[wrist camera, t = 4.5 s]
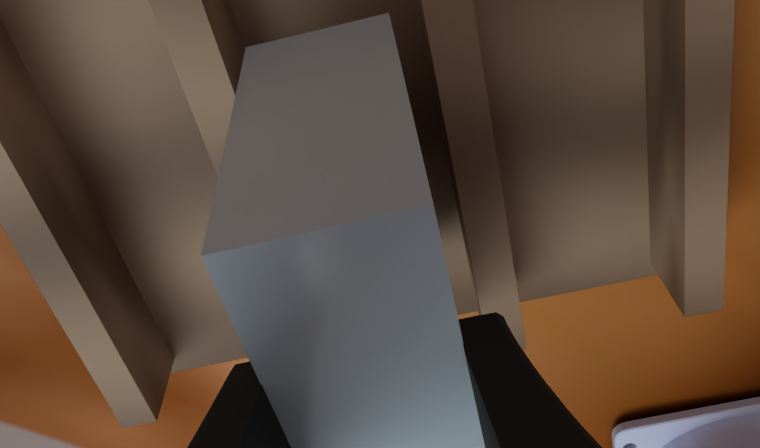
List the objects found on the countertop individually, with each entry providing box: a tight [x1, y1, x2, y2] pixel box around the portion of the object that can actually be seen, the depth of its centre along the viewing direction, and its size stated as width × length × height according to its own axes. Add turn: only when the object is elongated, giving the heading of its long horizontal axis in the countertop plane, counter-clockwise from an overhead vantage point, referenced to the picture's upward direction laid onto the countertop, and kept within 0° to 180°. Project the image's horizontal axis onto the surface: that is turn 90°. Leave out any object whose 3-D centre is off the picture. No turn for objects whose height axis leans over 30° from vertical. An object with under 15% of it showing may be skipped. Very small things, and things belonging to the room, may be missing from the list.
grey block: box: [201, 13, 485, 448], centre depth 14 cm, size 8×3×7 cm, turn 13°
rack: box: [0, 0, 735, 428], centre depth 18 cm, size 12×18×4 cm, turn 103°
